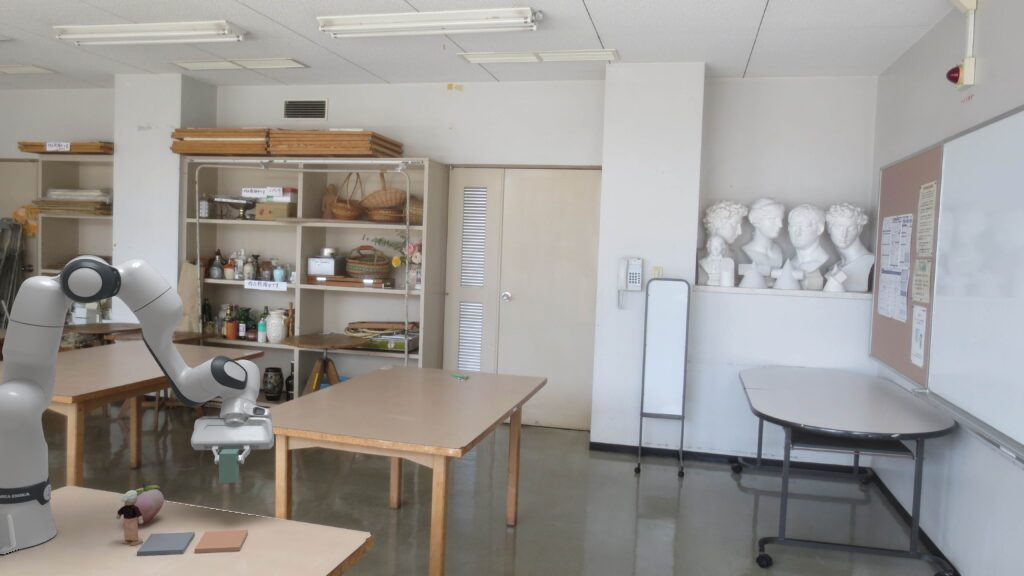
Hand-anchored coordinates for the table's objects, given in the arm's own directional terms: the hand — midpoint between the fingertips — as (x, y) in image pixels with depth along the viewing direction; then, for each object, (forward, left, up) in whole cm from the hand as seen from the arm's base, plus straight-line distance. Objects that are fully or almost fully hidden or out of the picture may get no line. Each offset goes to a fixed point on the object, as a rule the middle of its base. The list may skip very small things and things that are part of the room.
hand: (229, 463), depth 181 cm
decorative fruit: (-22, +4, -16) cm, 28 cm away
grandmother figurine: (-21, -8, -16) cm, 28 cm away
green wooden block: (0, 0, -4) cm, 4 cm away
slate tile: (-12, -11, -16) cm, 23 cm away
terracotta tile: (+1, -11, -16) cm, 19 cm away
